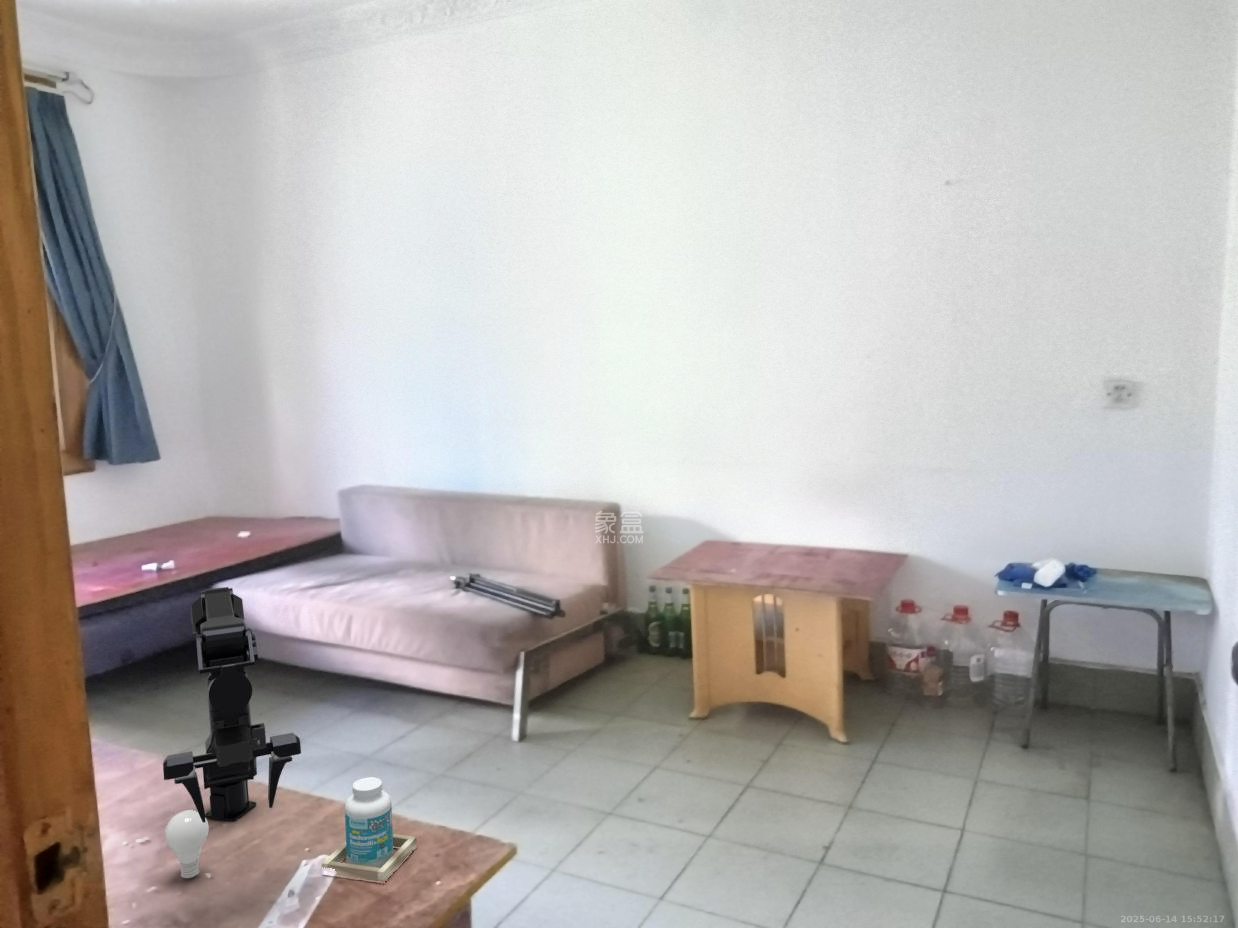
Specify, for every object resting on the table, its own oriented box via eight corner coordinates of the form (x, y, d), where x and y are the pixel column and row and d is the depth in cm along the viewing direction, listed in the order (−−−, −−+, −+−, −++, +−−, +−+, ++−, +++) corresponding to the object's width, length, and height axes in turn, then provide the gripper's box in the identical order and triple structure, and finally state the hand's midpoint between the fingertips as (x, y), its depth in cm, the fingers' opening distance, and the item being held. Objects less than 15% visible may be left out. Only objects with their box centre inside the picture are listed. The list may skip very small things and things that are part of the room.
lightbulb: (170, 870, 150) (165, 806, 148) (213, 862, 152) (208, 799, 151) (166, 891, 144) (161, 825, 143) (211, 883, 146) (206, 817, 145)
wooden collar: (358, 839, 158) (358, 829, 158) (416, 847, 155) (416, 836, 155) (322, 874, 148) (321, 863, 148) (383, 884, 145) (383, 872, 145)
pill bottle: (346, 877, 147) (342, 796, 146) (347, 853, 154) (343, 776, 153) (394, 869, 149) (391, 790, 147) (393, 846, 156) (389, 770, 155)
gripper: (158, 724, 127) (166, 840, 125) (300, 700, 135) (309, 809, 134) (160, 717, 137) (168, 825, 135) (292, 695, 145) (301, 797, 143)
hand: (237, 814), depth 137 cm, fingers open, 9 cm apart
